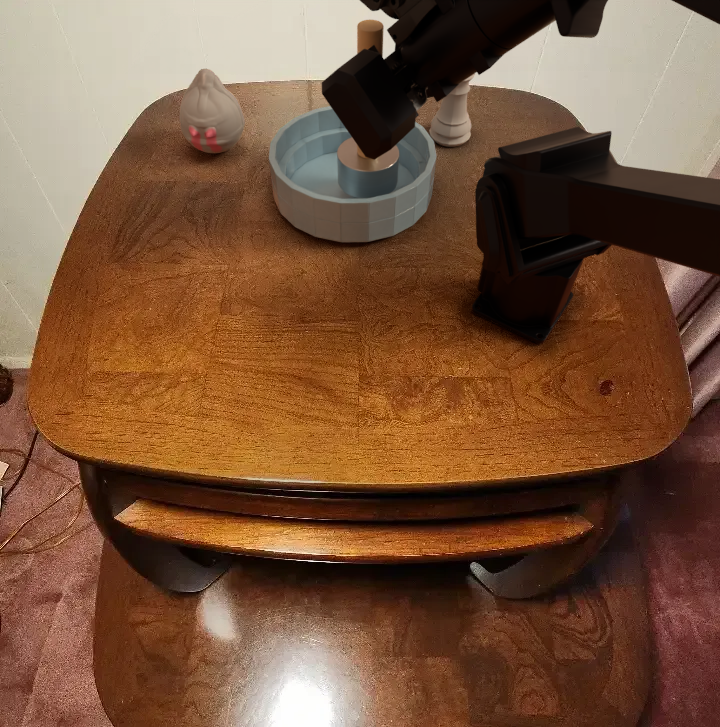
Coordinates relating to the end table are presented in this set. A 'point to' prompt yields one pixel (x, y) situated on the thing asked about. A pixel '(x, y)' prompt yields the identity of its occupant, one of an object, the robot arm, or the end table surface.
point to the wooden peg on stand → (353, 167)
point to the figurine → (210, 114)
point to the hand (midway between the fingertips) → (355, 110)
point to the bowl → (321, 189)
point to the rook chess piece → (452, 118)
